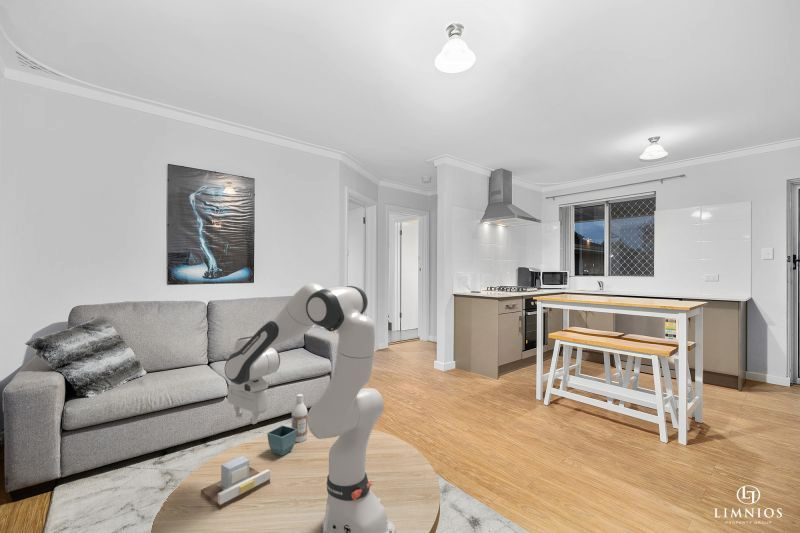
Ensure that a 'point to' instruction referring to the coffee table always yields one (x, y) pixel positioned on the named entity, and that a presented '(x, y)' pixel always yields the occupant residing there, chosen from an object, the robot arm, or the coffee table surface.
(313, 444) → the coffee table surface
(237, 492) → the price rail
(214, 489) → the shelf board
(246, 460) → the product carton
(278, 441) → the flower pot
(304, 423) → the bath foam
